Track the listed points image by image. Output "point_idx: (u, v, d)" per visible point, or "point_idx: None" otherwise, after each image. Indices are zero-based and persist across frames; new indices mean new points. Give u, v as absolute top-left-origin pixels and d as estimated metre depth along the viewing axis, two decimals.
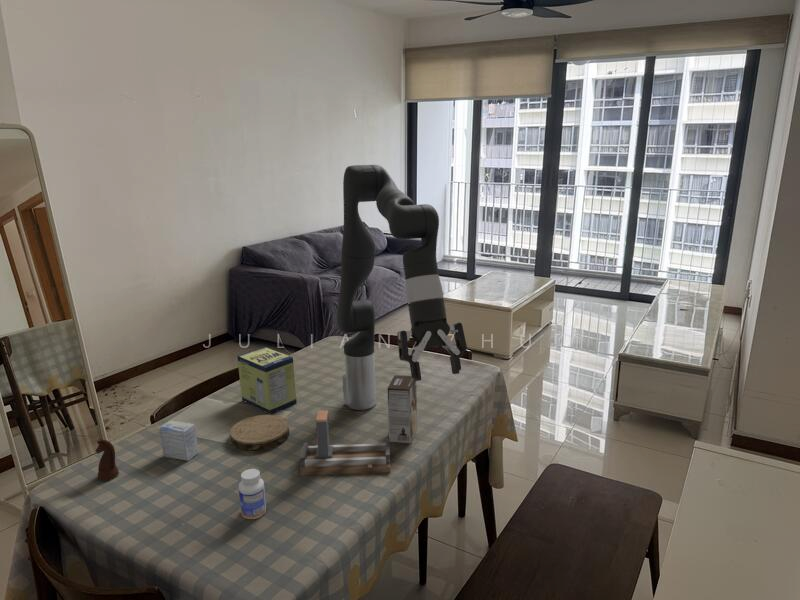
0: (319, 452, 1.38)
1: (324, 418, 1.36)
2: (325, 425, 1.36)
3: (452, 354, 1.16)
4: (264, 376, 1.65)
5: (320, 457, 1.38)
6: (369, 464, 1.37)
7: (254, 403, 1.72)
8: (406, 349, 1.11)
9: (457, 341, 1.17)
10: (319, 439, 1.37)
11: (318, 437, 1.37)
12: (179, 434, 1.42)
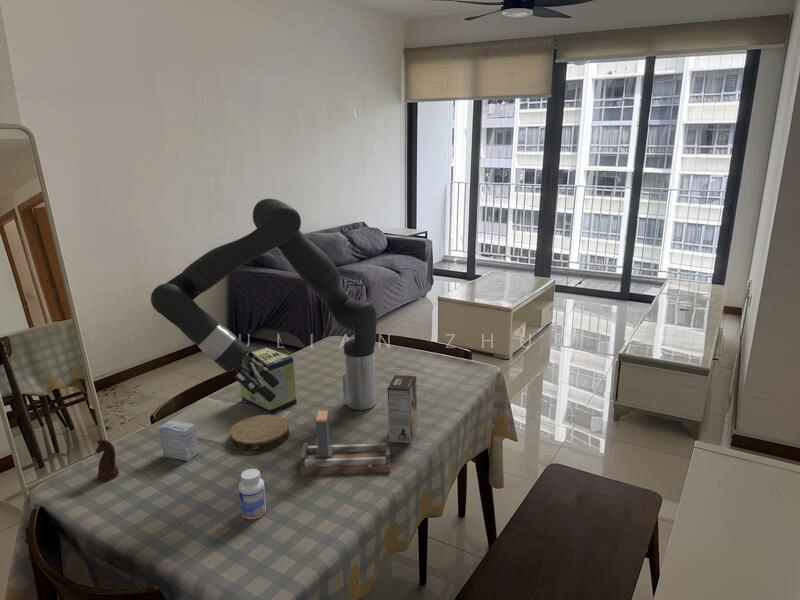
0: (319, 452, 1.38)
1: (324, 418, 1.36)
2: (325, 425, 1.36)
3: None
4: None
5: (320, 457, 1.38)
6: (369, 464, 1.37)
7: (254, 403, 1.72)
8: None
9: None
10: (319, 439, 1.37)
11: (318, 437, 1.37)
12: (179, 434, 1.42)
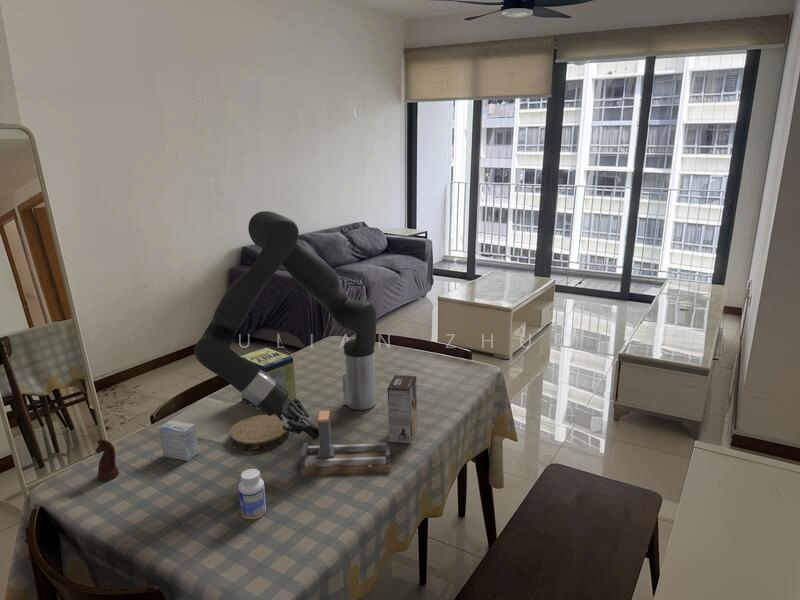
0: (321, 452, 1.38)
1: (326, 418, 1.36)
2: (327, 425, 1.36)
3: None
4: None
5: (322, 457, 1.38)
6: (369, 464, 1.37)
7: None
8: None
9: None
10: (321, 439, 1.37)
11: (320, 437, 1.37)
12: (179, 434, 1.42)
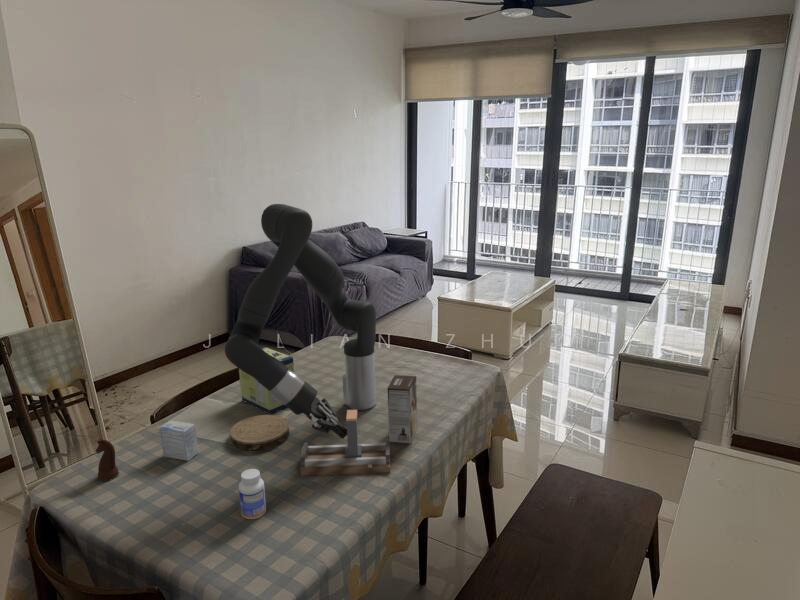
0: (349, 451, 1.38)
1: (354, 417, 1.36)
2: (355, 424, 1.36)
3: None
4: None
5: (350, 456, 1.38)
6: (369, 464, 1.37)
7: (254, 403, 1.72)
8: None
9: None
10: (349, 438, 1.37)
11: (348, 436, 1.37)
12: (179, 434, 1.42)
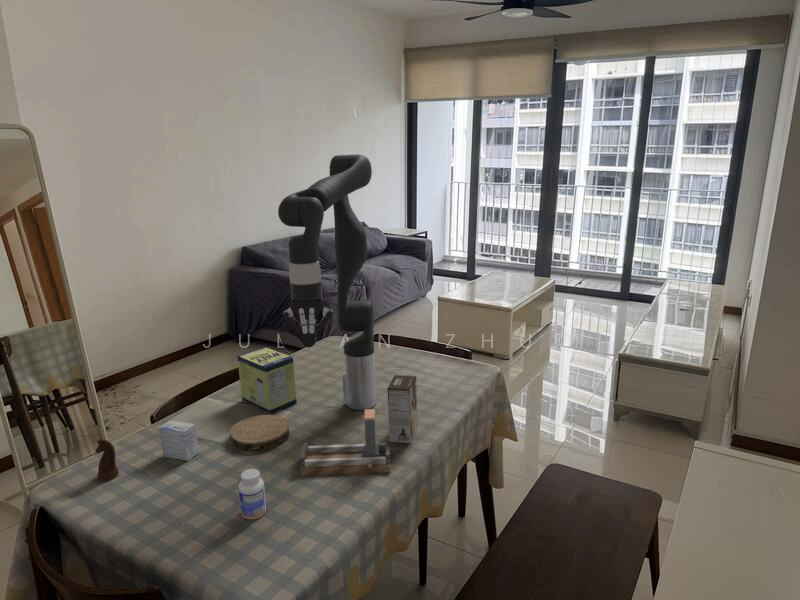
0: (367, 450, 1.38)
1: (372, 416, 1.36)
2: (373, 423, 1.36)
3: None
4: (264, 376, 1.65)
5: (367, 455, 1.38)
6: (369, 464, 1.37)
7: (254, 403, 1.72)
8: (294, 324, 1.37)
9: (322, 320, 1.39)
10: (367, 437, 1.37)
11: (366, 435, 1.37)
12: (179, 434, 1.42)
